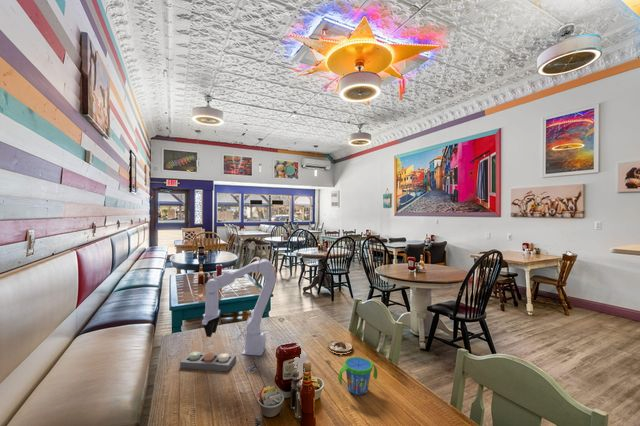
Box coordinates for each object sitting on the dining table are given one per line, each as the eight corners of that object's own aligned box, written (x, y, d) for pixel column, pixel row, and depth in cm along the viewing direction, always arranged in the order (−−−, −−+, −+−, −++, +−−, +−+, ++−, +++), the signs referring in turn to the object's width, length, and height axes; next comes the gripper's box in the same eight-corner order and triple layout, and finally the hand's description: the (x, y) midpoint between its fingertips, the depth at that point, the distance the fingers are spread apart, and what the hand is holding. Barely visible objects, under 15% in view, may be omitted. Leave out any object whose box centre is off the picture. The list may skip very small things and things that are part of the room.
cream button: (230, 358, 128) (230, 353, 128) (226, 363, 124) (226, 358, 124) (220, 358, 129) (220, 353, 129) (216, 363, 124) (216, 358, 124)
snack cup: (371, 380, 118) (372, 354, 118) (382, 396, 108) (383, 368, 108) (334, 384, 114) (334, 358, 114) (342, 401, 104) (343, 372, 104)
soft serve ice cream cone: (289, 394, 107) (290, 350, 107) (281, 382, 115) (282, 341, 115) (309, 388, 111) (310, 346, 111) (301, 377, 118) (302, 338, 118)
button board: (236, 360, 131) (236, 354, 131) (228, 371, 122) (228, 365, 122) (191, 357, 132) (191, 352, 132) (180, 367, 123) (180, 362, 123)
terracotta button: (216, 357, 129) (216, 352, 129) (211, 362, 125) (211, 357, 125) (206, 357, 129) (206, 352, 129) (201, 362, 125) (201, 357, 125)
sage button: (201, 356, 130) (202, 351, 130) (196, 361, 125) (197, 356, 125) (192, 356, 130) (192, 351, 130) (187, 361, 125) (187, 356, 125)
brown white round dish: (356, 345, 150) (357, 337, 150) (353, 359, 135) (354, 350, 135) (328, 341, 153) (328, 333, 153) (322, 355, 139) (323, 346, 139)
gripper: (210, 300, 143) (209, 328, 143) (195, 309, 128) (194, 340, 128) (224, 301, 142) (223, 328, 142) (211, 310, 128) (210, 341, 128)
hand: (211, 334), depth 135 cm, fingers open, 4 cm apart
